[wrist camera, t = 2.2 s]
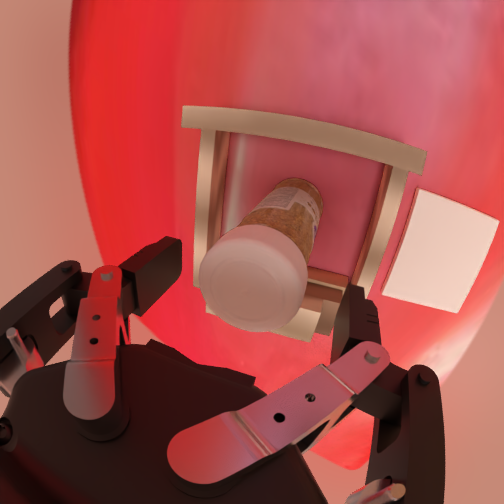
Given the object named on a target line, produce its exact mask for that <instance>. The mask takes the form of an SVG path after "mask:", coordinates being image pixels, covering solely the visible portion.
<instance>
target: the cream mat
mask: <svg viewBox="0 0 504 504" xmlns="http://www.w3.org/2000/svg"><path fill="white" fill-rule="evenodd" d="M498 224H499V221H498V220H497V219H496V218H494V217H492V216H489V215H487V214H485V213H483V212H480V211H478V210H476V209H474V208H471V207H469V206H466V205H464V204H461V203H459V202H457V201H454V200H451V199H449V198H446V197H444V196H441V195H438V194H436V193H433V192H430V191H427V190H424V189H422V188H419V187H417V188H416V192H415V195H414V199H413V202H412V206H411V209H410V212H409V215H408V219H407V222H406V225H405V228H404V231H403V234H402V237H401V240H400V242H399V245H398V248H397V251H396V253H395V256H394V259H393V261H392V264H391V267H390V269H389V272H388V274H387V277H386V279H385V281H384V284H383V286H382V289H381V293H382V295H385V296H389V297H393V298H397V299H401V300H405V301H409V302H413V303H417V304H421V305H425V306H429V307H433V308H437V309H441V310H445V311H449V312H454V313H458V311H459V309H460V308H461V306H462V304H463V302H464V300H465V299H466V297H467V295H468V293H469V291H470V289H471V287H472V285H473V283H474V281H475V279H476V277H477V275H478V273H479V271H480V269H481V266H482V264H483V262H484V260H485V257H486V255H487V253H488V250H489V248H490V245H491V243H492V240H493V238H494V235H495V232H496V230H497V227H498Z"/></svg>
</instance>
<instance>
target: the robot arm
mask: <svg viewBox="0 0 504 504" xmlns="http://www.w3.org/2000/svg"><path fill="white" fill-rule="evenodd" d="M181 271H182V242H181V240H180V239H176V238H172V237H169V236H165V237H164V238H162V239H161V240H160V241H158V242H157V243H153V244H151V245H148V246H145V247H144V248H143V249H141V250H140V251H139V252H137V253H136V254H134V256H131V257H130V258H129V259H127V260H126V261H124V262H123V263H122V264H120V265H119V266H118V267H117V266H113V265H107V266H102V267H99V268H97V269H96V270H95V271H94V272H93V273H86V272H82V271H81V266H80V263H79V262H77V261H73V260H69V261H64V262H62V263H60V264H58V265H57V266H55V267H54V268H52V269H51V270H50V271H48V272H47V273H46V274H44V275H43V276H42V277H40V278H39V279H37V281H35V282H34V283H32V284H31V285H30V286H29V287H27V288H26V289H24V290H23V291H22V292H21V293H19V294H18V295H17V296H16V297H14V298H13V299H12V300H11V301H9V302H8V303H7V304H6V305H5V306H4V307H2V308H1V309H0V390H1V391H2V393H3V394H4V395H5V396H7V397H10V399H9V402H8V405H7V407H6V409H5V411H4V413H3V415H2V417H1V418H0V504H328V502H327V500H326V498H325V497H324V495H323V493H322V491H321V489H320V487H319V486H318V484H317V482H316V480H315V479H314V476H313V475H312V473H311V471H310V469H309V467H308V465H307V463H306V461H305V460H304V458H303V456H302V454H304V453H305V452H306V451H308V450H309V449H310V448H312V447H313V446H314V445H315V444H317V443H318V442H319V441H320V440H321V439H322V438H323V437H324V436H325V435H326V434H328V433H329V432H330V431H331V430H332V429H334V428H335V427H336V426H337V425H338V424H340V423H341V422H342V421H343V420H344V419H345V418H346V417H348V416H349V415H350V414H351V413H352V412H353V411H354V410H355V409H359V410H361V411H363V412H365V413H368V414H370V415H372V416H374V417H375V418H374V428H373V437H372V445H371V452H370V459H369V465H368V471H367V477H366V483H365V486H363V487H362V488H360V489H358V490H356V491H354V492H353V493H352V494H350V496H349V497H348V498H347V500H346V502H345V504H443V503H444V490H445V489H444V488H445V436H444V422H443V411H442V402H441V393H440V386H439V380H438V377H437V375H436V374H435V372H434V371H433V370H432V369H430V368H429V367H427V366H425V365H420V364H419V365H414V366H412V367H411V368H410V369H409V370H408V371H407V370H405V369H402V368H400V367H398V366H396V365H394V364H393V363H391V362H390V356H389V353H388V352H387V350H386V349H385V348H384V347H383V346H382V345H381V335H380V327H379V318H378V311H377V307H376V306H375V304H374V303H373V301H372V300H368V299H365V291H364V287H361V286H357V285H353V284H349V283H348V284H347V286H346V289H345V292H344V294H343V297H342V300H341V303H340V305H339V308H338V311H337V314H336V317H335V322H334V331H333V342H332V351H331V360H330V365H329V366H328V367H326V366H325V365H324V364H319V365H317V366H316V367H314V368H313V369H311V370H309V371H308V372H306V373H305V374H303V375H301V376H300V377H298V378H296V379H295V380H293V381H291V382H290V383H288V384H286V385H285V386H283V387H281V388H280V389H278V390H276V391H274V392H273V393H271V394H269V395H267V394H266V393H265V392H263V391H262V390H261V389H259V388H258V387H256V386H254V382H255V378H256V377H254V376H250V375H247V374H244V373H241V372H238V371H235V370H231V369H228V368H222V367H214V366H207V365H201V364H197V363H195V362H193V361H192V360H190V359H189V358H187V357H186V356H184V355H183V354H181V353H180V352H179V351H177V350H176V349H174V348H172V347H169V346H167V345H165V344H162V343H160V342H158V341H155V340H153V339H150V341H149V342H148V343H147V344H146V345H139V344H131V342H130V341H131V340H130V319H129V315H130V314H131V313H133V314H136V315H138V316H140V317H141V316H142V315H143V314H144V313H145V312H146V311H147V310H148V309H149V308H150V307H151V306H152V305H153V304H154V303H155V302H156V301H157V300H158V299H159V298H160V297H161V296H162V295H163V294H164V293H165V292H166V291H167V290H168V289H169V288H170V286H171V285H172V284H173V283H174V282H175V281H176V280H177V279H178V278H179V276H180V274H181ZM60 297H62V300H63V303H64V307H63V308H61V309H60V310H59V311H58V312H57V313H56V314H55V315H54V316H53V317H52V318H50V315H49V309H50V306H51V305H52V304H53V303H54V302H55V301H56V300H57V299H58V298H60ZM73 335H74V340H73V347H72V354H71V359H70V360H67V361H63V362H59V363H55V364H51V365H48V366H45V365H46V363H47V362H48V361H49V360H50V359H51V358H52V357H53V356H54V355H55V354H56V353H57V352H58V351H59V349H60V348H61V347H62V346H63V345H64V344H65V343H66V342H67V341H68V340H69V339H70V338H71V337H72V336H73Z"/></svg>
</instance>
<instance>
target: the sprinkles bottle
mask: <svg viewBox="0 0 504 504" xmlns="http://www.w3.org/2000/svg"><path fill="white" fill-rule="evenodd" d="M322 212H323V201H322V197H321V195H320V193H319V191H318V190H317V188H316V187H315V186H314V185H313V184H311V183H310V182H308V181H306V180H303V179H299V178H291V179H286V180H284V181H282V182H280V183H279V184H277V185H276V187H275V188H274V189H273V191H272V192H271V193H269V194H268V195H267V196H266V197H265V198H264V199H263V200H262V201H261V202H260V203H259V204H258V205H257V206H256V207H255V208H254V209H253V210H252V211H251V212H250V213H249V214H248V215H247V216H246V217H245V218H244V219H243V221H242V222H241V223H240V224H239V225H238V226H237V227H236V228H234V229H232V230H230V231H229V232H227V233H226V234H225V235H223V236H222V237H221V238H220V239H219V240H218V241H217V242H216V243H215V244H214V245H213V246H212V248H211V249H210V250H209V251H208V252H207V253H206V255H205V256H204V258H203V260H202V262H201V264H200V268H199V278H198V279H199V286H200V290H201V293H202V295H203V298H204V300H205V301H206V303H207V305H208V306H209V307H210V308H211V310H212V311H213V312H214V313H215V314H216V315H217V316H218V317H219V318H221V319H222V320H224V321H225V322H226V323H228V324H230V325H232V326H234V327H236V328H239V329H242V330H246V331H251V332H267V331H272V330H275V329H278V328H281V327H283V326H284V325H286V324H287V323H288V322H290V321H291V320H292V319H293V318H294V317H295V315H296V314H297V312H298V311H299V309H300V307H301V304H302V301H303V297H304V294H305V290H306V286H307V280H308V271H307V264H308V261H309V257H310V254H311V252H312V249H313V244H314V240H315V236H316V232H317V229H318V225H319V219H320V217H321V215H322Z"/></svg>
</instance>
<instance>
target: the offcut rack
mask: <svg viewBox="0 0 504 504" xmlns="http://www.w3.org/2000/svg"><path fill="white" fill-rule="evenodd" d="M181 127H183V128H197V129H201V138H200V150H199V162H198V176H197V191H196V210H195V233H194V273H193V286H194V287H198V288H200V286H199V279H198V278H199V268H200V264H201V262H202V260H203V258H204V256H205V255H206V253H207V252H208V251H209V250H210V249H211V248H212V246H213V245H214V244H215V243H216V242H217V241H218V240H219V239H220V231H221V219H222V208H223V197H224V186H225V176H226V167H227V157H228V148H229V139H230V132H236V133H244V134H251V135H258V136H265V137H271V138H277V139H283V140H289V141H294V142H299V143H304V144H309V145H314V146H319V147H323V148H328V149H332V150H336V151H340V152H344V153H348V154H352V155H356V156H360V157H364V158H367V159H371V160H374V161H378V162H381V163H385V167H384V172H383V176H382V180H381V184H380V188H379V192H378V196H377V199H376V203H375V207H374V210H373V214H372V217H371V221H370V224H369V228H368V231H367V234H366V238H365V241H364V244H363V247H362V250H361V253H360V256H359V259H358V262H357V265H356V268H355V271H354V274H353V277H352V279H351V282H350V284H353V285H357V286H361V287H364V291H365V299H366V298H367V296H368V294H369V291H370V289H371V286H372V284H373V281H374V279H375V276H376V274H377V271H378V268H379V266H380V263H381V260H382V258H383V255H384V252H385V249H386V246H387V244H388V241H389V238H390V235H391V232H392V229H393V226H394V222H395V219H396V216H397V213H398V209H399V206H400V202H401V199H402V195H403V192H404V188H405V184H406V180H407V177H408V172H409V171H410V172H413V173H416V174H419V175H421V176H422V172H423V168H424V164H425V160H426V155H427V151H424V150H422V149H419V148H416V147H413V146H410V145H407V144H404V143H401V142H398V141H395V140H392V139H389V138H386V137H382V136H379V135H375V134H372V133H368V132H365V131H361V130H357V129H353V128H349V127H345V126H341V125H336V124H332V123H327V122H323V121H318V120H313V119H307V118H302V117H296V116H290V115H284V114H277V113H270V112H263V111H254V110H245V109H235V108H223V107H207V106H183V112H182V122H181ZM307 271H308V280H307V286H306V290H305V294H304V297H303V301H302V304H301V307H300V309H299V311H298V312H297V314H296V315H295V317H294V318H293V319H292V320H291V321H290V322H288V323H287V324H286V325H284V326H283V327H281V328H278V329H275V330H272V331H269V332H272V333H276V334H279V335H283V336H287V337H290V338H294V339H298V340H302V341H306V342H310V341H311V339H312V336H313V334H314V332H315V333H319V334H323V335H327V336H329V335H330V333H331V330H332V328H333V326H334V322H335V317H336V314H337V311H338V308H339V305H340V303H341V300H342V297H343V294H344V292H345V289H346V286H347V284H348V276H344V275H340V274H336V273H332V272H328V271H324V270H320V269H316V268H313V267H309V266H307ZM206 312H207V313H210V314H213V315H216V314H215V313H214V312H213V311H212V310H211V308H210V307H209V306H208V305H207V303H206Z"/></svg>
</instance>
